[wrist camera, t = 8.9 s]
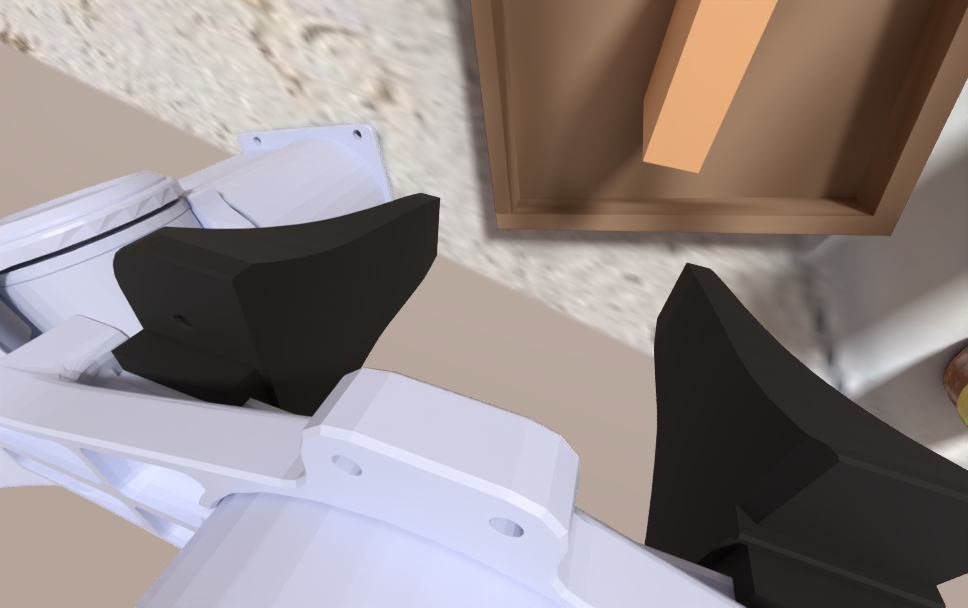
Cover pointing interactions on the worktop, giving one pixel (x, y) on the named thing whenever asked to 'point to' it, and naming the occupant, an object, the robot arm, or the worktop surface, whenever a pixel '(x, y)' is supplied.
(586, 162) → the tray
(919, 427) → the worktop surface
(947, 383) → the sauce bottle
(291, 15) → the worktop surface
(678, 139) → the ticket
